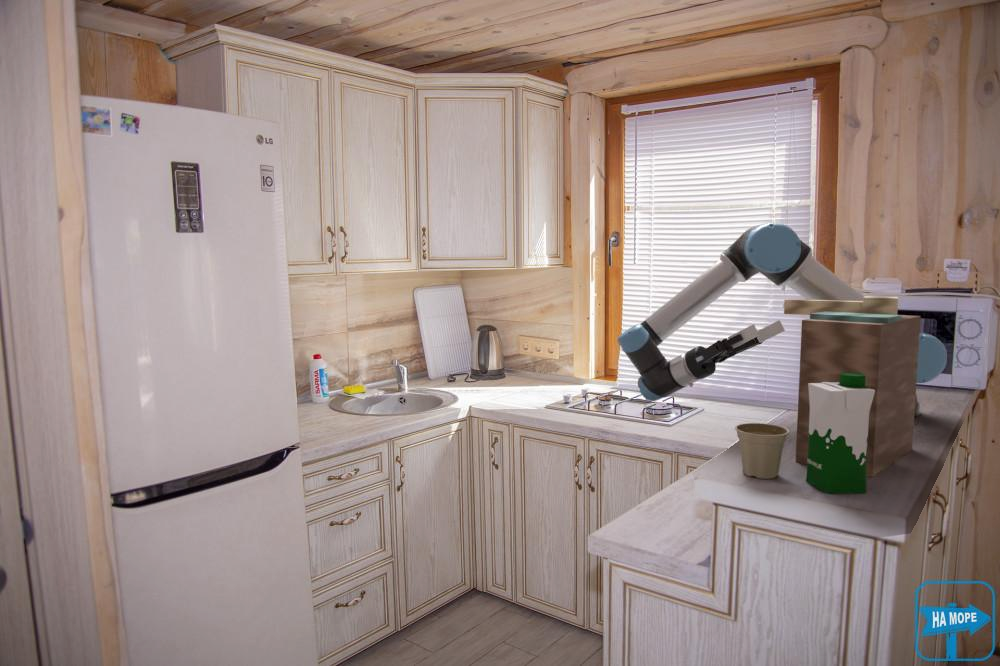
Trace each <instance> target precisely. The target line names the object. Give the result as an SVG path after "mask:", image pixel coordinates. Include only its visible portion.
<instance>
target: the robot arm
mask: <svg viewBox="0 0 1000 666" xmlns="http://www.w3.org/2000/svg"><path fill="white" fill-rule="evenodd" d="M758 273H760V274H761V275H762V276H764V277H765V278H767V279H768V280H769V281H771V282H772V283H774V284H775V285H776V286H777V287H783V286H786V287H787V286H788V287H789V288H790V289H792V290H793V291H795V292H796V293H797V294H798V295H800V296H801V297H802V298H804V300H837V301H863V297H865V296H864V295H863V294H861V292H860V291H857V290H856V289H855V288H854V287H852V285H849V284H848V283H847V282H846V281H845V280H843V279H842V278H841V277H839V276H838V275H836V274H835V272H832V271H831V270H830V269H829V268H827V267H826V266H825V265H823V264H822V263H821V262H820V261H818V260H816V258H814V257H813V248H812V247H811V246H809V244H806V243H805V242H804V241H803V240H801V239H800V237H799V236H798V234H797V233H796V231H795V230H793V229H792V228H791V227H790V226H788V225H787V224H784V223H779V222H775V221H774V222H773V221H771V222H765V223H762V224H759V225H755V226H752V227H749V228H748V229H746V230H745V232H743V233H742V234H741V235H740V236H739V237H738V238H737V239H736V240H735V241H734V242H733V243H732V244H731V245H730V246H729V247H727V249H725V250H724V251H723V252H722V253H720V257H719V260H718V261H717V262H715V263H714V264H713V265H711V267H709V268H708V269H707V270H705V271H704V272H703V273H701V275H699V276H698V277H697V278H695V279H694V280H693V281H692V282H690V283H689V284H688V285H687V286H686V287H684V288H683V289H682V290H681V291H679V292H678V293H677V294H675V295H674V296H673V297H672V298H671V299H670V300H668V301H667V302H665V303H664V304H663V305H662V306H660V307H659V308H658V309H657V310H655V311H654V312H653V313H652V314H651V315H649V316H648V317H646V319H644V320H643V321H642V322H641V323H637V324H635V325H632V326H631V327H629V328H628V329H627V330H625V331H623V332H622V333H621V334H620V335H619V336H618V337H617V343H618V344H619V346H620V348H621V350H622V351H623V353H625V355H626V357H627V358H628V359H629V360H630V362H631V363H632V365H633V366H634V367H635V369H636V371H638V374H639V375H640V377H638V380H637V387H638V389H639V392H640V394H641V396H642V397H644V399H645V400H647V401H649V402H656V401H658V400H661V399H663V398H668V397H669V396H670V395H673V394H675V393H676V392H678V391H680V390H682V389H684V388H686V387H688V386H689V387H690V388H692V387H694V383H696V382H699V381H701V380H703V379H706V378H708V377H709V376H711V375H714V373H716V369H717V368H716V367H717V365H716V364H718V363H719V364H720V363H723V362H725V361H726V360H728V359H730V358H732V357H734V356H736V355H738V354H741V353H742V352H745V351H747V350H750V349H751V348H752V349H753V348H754V347H757V346H758V345H762V344H763V342H765V341H767V340H769V339H772V338H774V337H776V336H777V335H779V334H781V333H783V332H785V331H786V330H785V328H784V326H783V324H782V322H781V320H780V319H779V320H777V321H775V322H773V323H771V324H768V325H767V326H765V327H763V328H761V329H759V330H757V328H756V325H755V324H751V325H749V326H747V327H745V328H743V329H741V330H740V331H737V332H736V333H733V334H732V335H729V336H728V337H727V338H723V339H718V340H717V341H716V342H714V343H712V344H711V345H709V346H707V347H704V346H701V345H699V346H698V345H697V346H696V347H694V348H692V349H690V350H688V351H686V352H684V353H682V354H680V355H678V356H676V357H675V358H673V359H671V360H669V361H668V360H667V359H666V356H664V355H663V353H662V352H661V350H660V348H659V347H658V346H660V345H661V344H662V343H663V342H664V341H665V340H667V339H668V338H669V337H671V336H672V335H673V334H675V333H676V332H677V331H678V330H679V329H680V328H682V327H683V326H685V325H686V324H687V323H688V322H690V321H691V320H692V319H693V318H695V317H696V316H697V315H699V314H700V313H702V311H703V310H705V309H706V308H707V307H708V306H710V305H712V303H714V302H715V301H716V300H717V299H719V298H720V297H721V296H722V295H724V294H726V292H728V291H729V290H730V289H732V288H733V287H735V286H736V285H737V284H738V283H745V282H747V281H748V280H749V279H751V278H752V277H754V276H756V275H757V274H758ZM947 352H948V351H947V349H946V346H945V345H944V344H943V342H942V341H941V340H940V339H938V337H936V336H934V335H932V334H929V333H926V332H923V331H922V330H921V329H920V334H919V350H918V366H917V382H916V384H925V383H929V382H931V381H933V380H935V379H936V378H938V377H939V376H940V374H942V372H943V371H944V369H945V368H946V365H947V362H948V361H947V360H948V353H947ZM920 414H921V405H920V403H919V402H918V395H917V394H916V398H915V413H914V417H917V416H920Z"/></svg>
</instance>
